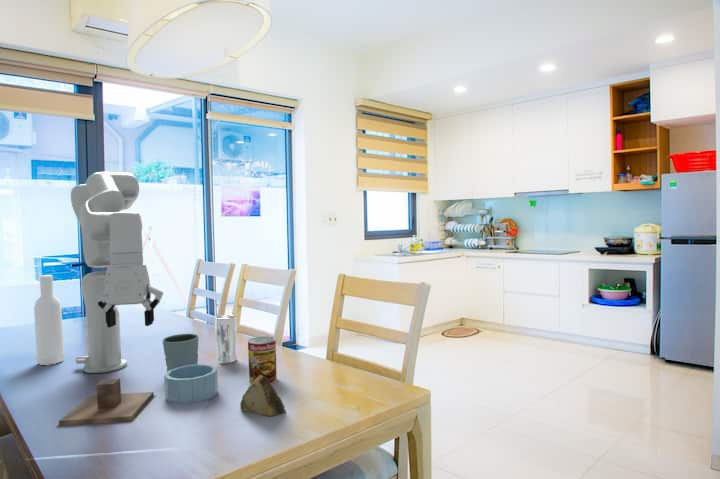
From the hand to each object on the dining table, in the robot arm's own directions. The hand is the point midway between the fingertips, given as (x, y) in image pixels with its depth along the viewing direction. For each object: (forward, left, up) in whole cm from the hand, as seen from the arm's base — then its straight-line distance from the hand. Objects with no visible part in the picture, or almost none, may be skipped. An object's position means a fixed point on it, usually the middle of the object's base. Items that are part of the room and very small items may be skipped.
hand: (130, 325), depth 124 cm
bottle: (-43, +44, -21) cm, 65 cm away
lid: (-4, -5, -20) cm, 21 cm away
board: (-4, -5, -20) cm, 21 cm away
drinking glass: (+7, +20, -21) cm, 30 cm away
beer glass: (+18, +34, -21) cm, 44 cm away
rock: (+34, -11, -21) cm, 41 cm away
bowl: (+14, +3, -20) cm, 25 cm away
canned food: (+32, +12, -21) cm, 40 cm away
